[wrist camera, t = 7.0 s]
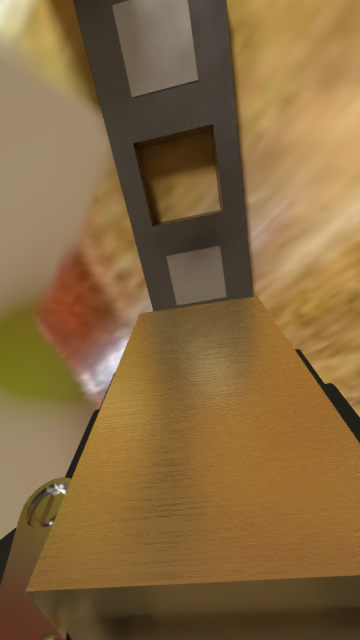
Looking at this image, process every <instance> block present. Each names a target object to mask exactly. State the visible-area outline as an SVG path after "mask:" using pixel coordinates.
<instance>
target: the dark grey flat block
mask: <svg viewBox="0 0 360 640" xmlns="http://www.w3.org/2000/svg"><path fill="white" fill-rule="evenodd" d="M73 1H74V5H75V9H76V13H77V17H78V21H79V25H80V28H81V32H82V36H83V40H84V44H85V48H86V52H87V56H88V59H89V63H90V67H91V71H92V75H93V79H94V83H95V87H96V90H97V94H98V98H99V102H100V106H101V110H102V114H103V118H104V121H105V125H106V129H107V133H108V137H109V141H110V145H111V149H112V152H113V156H114V160H115V164H116V168H117V172H118V176H119V180H120V184H121V187H122V191H123V195H124V199H125V203H126V207H127V211H128V215H129V218H130V222H131V226H132V230H133V234H134V238H135V242H136V246H137V249H138V253H139V257H140V261H141V265H142V269H143V273H144V277H145V280H146V284H147V288H148V292H149V296H150V300H151V304H152V308H153V311H160V310H166V309H173V308H180V307H187V306H194V305H201V304H208V303H215V302H222V301H229V300H235V299H242V298H249V297H253V296H252V284H251V273H250V262H249V251H248V239H247V228H246V217H245V206H244V194H243V183H242V172H241V161H240V149H239V138H238V127H237V116H236V104H235V93H234V82H233V71H232V59H231V48H230V37H229V26H228V14H227V3H226V0H73ZM207 131H211V135H212V143H213V151H214V159H215V168H216V176H217V184H218V192H219V200H220V208H221V210H219V211H214V212H209V213H204V214H200V215H195V216H190V217H185V218H180V219H175V220H170V221H166V222H161V223H156V224H155V220H154V216H153V211H152V207H151V202H150V198H149V193H148V189H147V184H146V180H145V175H144V171H143V166H142V162H141V157H140V152H139V148H141V147H145V146H149V145H153V144H157V143H161V142H166V141H170V140H174V139H178V138H182V137H186V136H191V135H195V134H199V133H203V132H207Z"/></svg>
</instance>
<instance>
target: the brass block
mask: <svg viewBox="0 0 360 640" xmlns="http://www.w3.org/2000/svg"><path fill="white" fill-rule="evenodd" d="M25 592H26V593H27V594H28V595H29V597H30V598H31V599H32V600H33V602H34V603H35V604H36V605H37V607H38V608H39V609H40V610H41V612H42V613H43V614H44V615H45V616H46V618H47V619H48V620H49V621H50V623H51V624H52V625H53V626H54V628H55V629H56V630H57V631H58V632H67V633H68V635H69V636H70V637H71V639H72V640H360V443H359V442H358V440H357V439H356V437H355V436H354V434H353V433H352V432H351V430H350V429H349V427H348V426H347V424H346V423H345V422H344V420H343V419H342V417H341V416H340V414H339V413H338V411H337V410H336V409H335V407H334V406H333V404H332V403H331V401H330V400H329V398H328V397H327V396H326V394H325V393H324V391H323V390H322V388H321V387H320V386H319V384H318V383H317V381H316V380H315V378H314V377H313V375H312V374H311V373H310V371H309V370H308V368H307V367H306V365H305V364H304V362H303V361H302V360H301V358H300V357H299V355H298V354H297V352H296V351H295V349H294V348H293V347H292V345H291V344H290V342H289V341H288V339H287V338H286V337H285V335H284V334H283V332H282V331H281V329H280V328H279V326H278V325H277V324H276V322H275V321H274V319H273V318H272V316H271V315H270V313H269V312H268V311H267V309H266V308H265V306H264V305H263V303H262V302H261V301H260V299H259V298H258V296H256V297H249V298H242V299H235V300H229V301H222V302H215V303H208V304H201V305H194V306H187V307H180V308H173V309H166V310H160V311H153V312H146V313H140V314H139V316H138V319H137V321H136V324H135V326H134V329H133V331H132V333H131V336H130V338H129V341H128V343H127V346H126V348H125V350H124V353H123V355H122V358H121V360H120V363H119V365H118V367H117V370H116V372H115V375H114V377H113V380H112V382H111V384H110V387H109V389H108V392H107V394H106V397H105V399H104V401H103V404H102V406H101V409H100V411H99V414H98V416H97V418H96V421H95V423H94V426H93V428H92V431H91V433H90V435H89V438H88V440H87V443H86V445H85V448H84V450H83V452H82V455H81V457H80V460H79V462H78V465H77V467H76V469H75V472H74V474H73V477H72V479H71V482H70V484H69V486H68V489H67V491H66V494H65V496H64V499H63V501H62V503H61V506H60V508H59V511H58V513H57V516H56V518H55V520H54V523H53V525H52V528H51V530H50V533H49V535H48V537H47V540H46V542H45V545H44V547H43V550H42V552H41V555H40V557H39V559H38V562H37V564H36V567H35V569H34V572H33V574H32V576H31V579H30V581H29V584H28V586H27V589H26V591H25Z"/></svg>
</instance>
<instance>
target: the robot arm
mask: <svg viewBox="0 0 360 640" xmlns="http://www.w3.org/2000/svg"><path fill="white" fill-rule="evenodd" d="M295 351H296V352H297V354H298V355H299V357H300V358H301V360H302V361H303V362H304V364H305V365H306V367H307V368H308V370H309V371H310V373H311V374H312V375H313V377H314V378H315V380H316V381H317V383H318V384H319V386H320V387H321V388H322V390H323V391H324V393H325V394H326V396H327V397H328V398H329V400H330V401H331V403H332V404H333V406H334V407H335V409H336V410H337V411H338V413H339V414H340V416H341V417H342V419H343V420H344V422H345V423H346V424H347V426H348V427H349V429H350V430H351V432H352V433H353V434H354V436H355V437H356V439H357V440H358V442H359V443H360V417H359V416H358V415H357V414H356V412H355V411H354V410H353V408H352V407H351V406H350V404H349V403H348V402H347V401H346V399H345V398H344V397H343V395H342V394H341V393H340V392H339V390H338V389H337V388H336V387H335V386H334V385H333V384H331V383H328V384H324V382H323V381H322V380H321V378H320V377H319V375H318V374H317V373H316V371H315V370H314V369H313V367H312V366H311V364H310V363H309V362H308V360H307V359H306V358H305V356H304V355H303V353H302V352H301V351H300V350H299V349H295ZM114 375H115V373H114ZM114 375H113V377H114ZM112 380H113V378H112ZM112 380H111V382H112ZM110 384H111V383H110ZM109 387H110V385H109ZM109 387H108V389H109ZM107 392H108V390H107ZM107 392H106V394H107ZM105 397H106V395H105ZM105 397H104V399H105ZM104 399H103V401H104ZM102 404H103V402H102ZM102 404H101V406H102ZM100 409H101V407H100ZM100 409H98V410H95V411H94V413H93V414H92V417H91V419H90V421H89V424H88V426H87V428H86V430H85V433H84V435H83V437H82V440H81V442H80V444H79V446H78V449H77V451H76V453H75V456H74V458H73V460H72V462H71V465H70V467H69V469H68V471H67V474H66V476H65V477H62V478H57V479H53V480H51V481H49V482H47V483H45V484H44V485H42V486H41V487H40V488H38V489H37V490H36V491H35V492H34V493H33V494H32V495H31V496H30V497H29V499H28V501H27V502H26V503H25V505H24V506H23V509H22V511H21V514H20V517H19V521H18V524H17V527H16V528H15V529H14V530H12V531H11V532H10V533H9V534H7V535H6V536H5V537H4V538H2V539H1V540H0V640H72V639H71V637H70V636H69V635H68V633H67V632H58V631H57V630H56V629H55V628H54V626H53V625H52V624H51V623H50V621H49V620H48V619H47V618H46V616H45V615H44V614H43V613H42V612H41V610H40V609H39V608H38V607H37V605H36V604H35V603H34V602H33V600H32V599H31V598H30V597H29V595H28V594H27V593H26V592H25V591H26V589H27V586H28V584H29V581H30V579H31V576H32V574H33V572H34V569H35V567H36V564H37V562H38V559H39V557H40V555H41V552H42V550H43V547H44V545H45V542H46V540H47V537H48V535H49V533H50V530H51V528H52V525H53V523H54V520H55V518H56V516H57V513H58V511H59V508H60V506H61V503H62V501H63V499H64V496H65V494H66V491H67V489H68V486H69V484H70V482H71V479H72V477H73V474H74V472H75V469H76V467H77V465H78V462H79V460H80V457H81V455H82V452H83V450H84V448H85V445H86V443H87V440H88V438H89V435H90V433H91V431H92V428H93V426H94V423H95V421H96V418H97V416H98V414H99V411H100Z"/></svg>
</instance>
